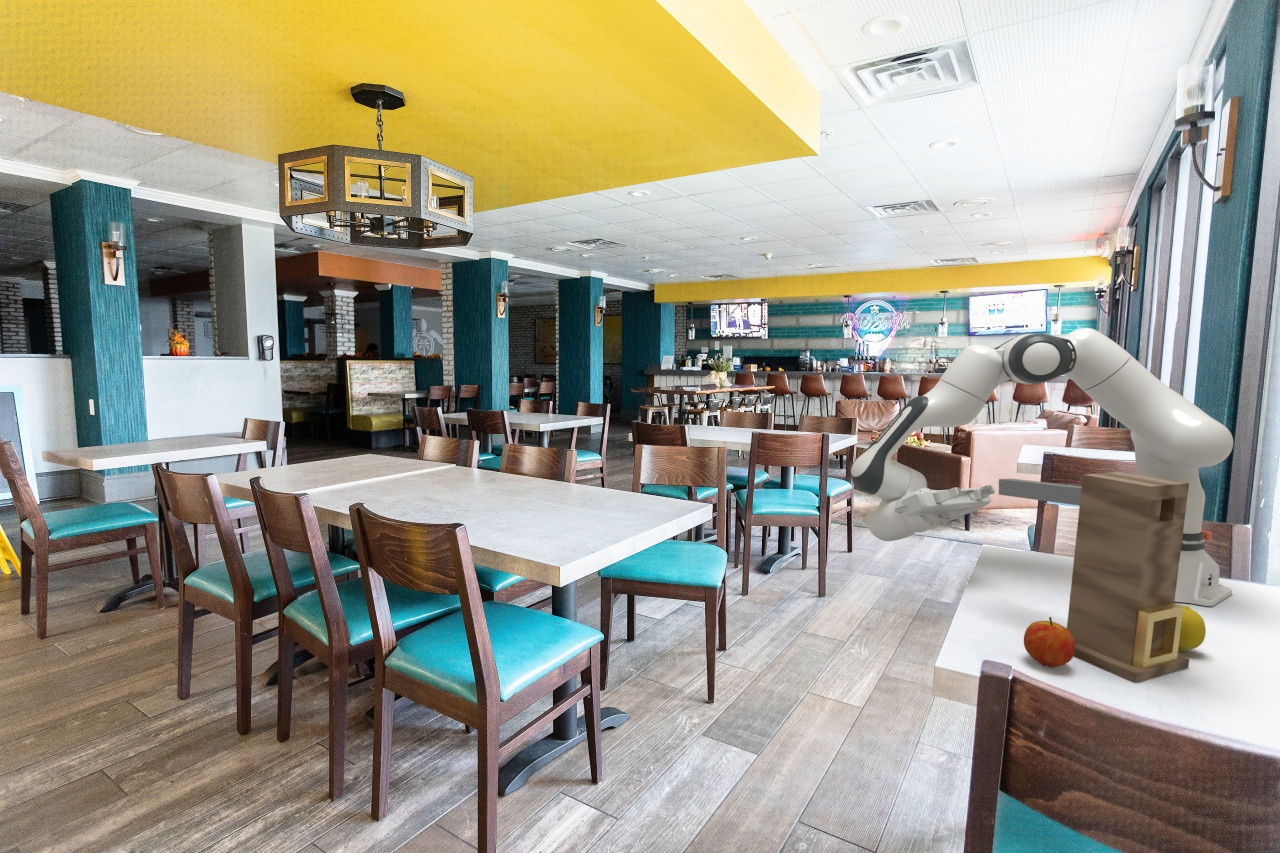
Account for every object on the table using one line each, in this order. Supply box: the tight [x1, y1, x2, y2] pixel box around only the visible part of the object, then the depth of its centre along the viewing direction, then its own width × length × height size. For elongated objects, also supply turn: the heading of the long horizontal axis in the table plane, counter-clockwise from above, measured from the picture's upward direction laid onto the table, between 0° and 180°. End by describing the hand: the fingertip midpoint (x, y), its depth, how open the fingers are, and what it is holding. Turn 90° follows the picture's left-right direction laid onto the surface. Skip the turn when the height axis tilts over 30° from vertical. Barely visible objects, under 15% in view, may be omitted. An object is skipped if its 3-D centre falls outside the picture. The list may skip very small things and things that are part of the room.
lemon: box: [1178, 605, 1207, 652], centre depth 108 cm, size 6×6×8 cm
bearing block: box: [1066, 471, 1190, 684], centre depth 104 cm, size 14×14×30 cm
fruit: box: [1023, 616, 1075, 668], centre depth 102 cm, size 7×7×8 cm
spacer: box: [1132, 602, 1185, 670], centre depth 100 cm, size 9×2×9 cm, turn 113°
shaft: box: [998, 478, 1082, 507], centre depth 112 cm, size 3×24×3 cm, turn 23°
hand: (975, 489), depth 129 cm, fingers open, 8 cm apart
